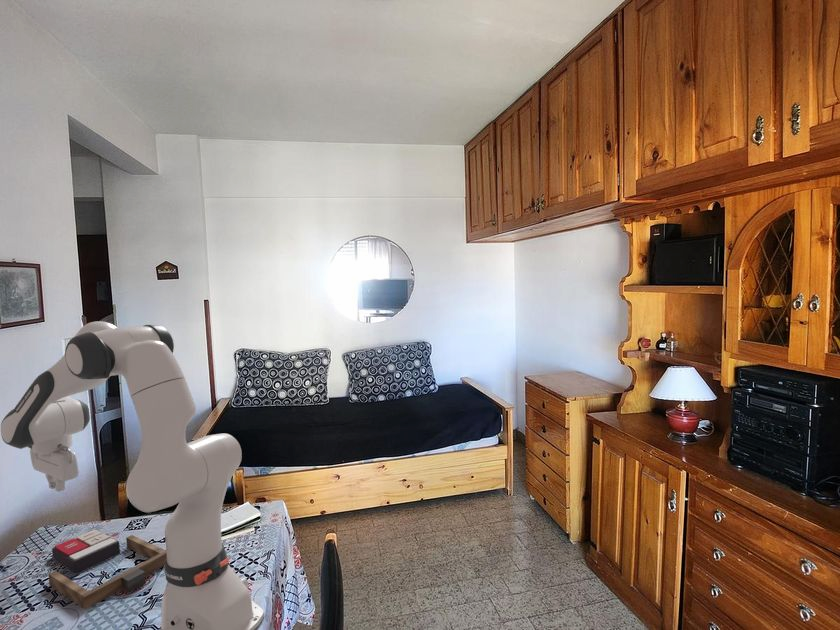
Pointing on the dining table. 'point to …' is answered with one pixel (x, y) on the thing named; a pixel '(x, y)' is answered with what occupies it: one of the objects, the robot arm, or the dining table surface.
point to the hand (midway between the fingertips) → (57, 489)
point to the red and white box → (85, 551)
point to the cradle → (122, 581)
